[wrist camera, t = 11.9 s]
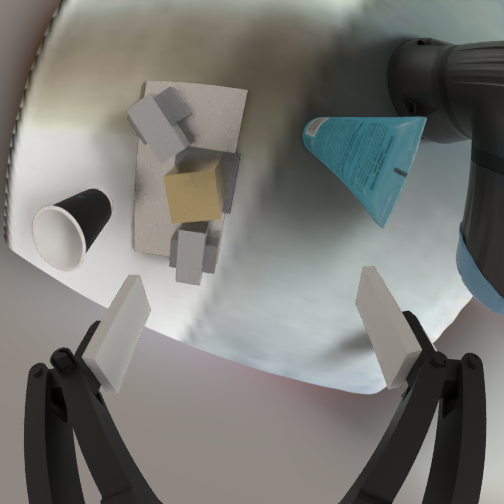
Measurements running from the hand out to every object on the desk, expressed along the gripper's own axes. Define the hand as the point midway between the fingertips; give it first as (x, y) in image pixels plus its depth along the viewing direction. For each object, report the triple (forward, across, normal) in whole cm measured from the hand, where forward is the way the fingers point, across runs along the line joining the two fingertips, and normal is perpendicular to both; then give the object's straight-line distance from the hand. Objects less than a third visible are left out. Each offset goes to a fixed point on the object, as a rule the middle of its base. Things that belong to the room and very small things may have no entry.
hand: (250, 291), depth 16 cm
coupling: (+20, -6, +2) cm, 20 cm away
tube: (+21, +9, +6) cm, 24 cm away
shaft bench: (+20, -9, +2) cm, 22 cm away
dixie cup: (+20, -22, 0) cm, 29 cm away
